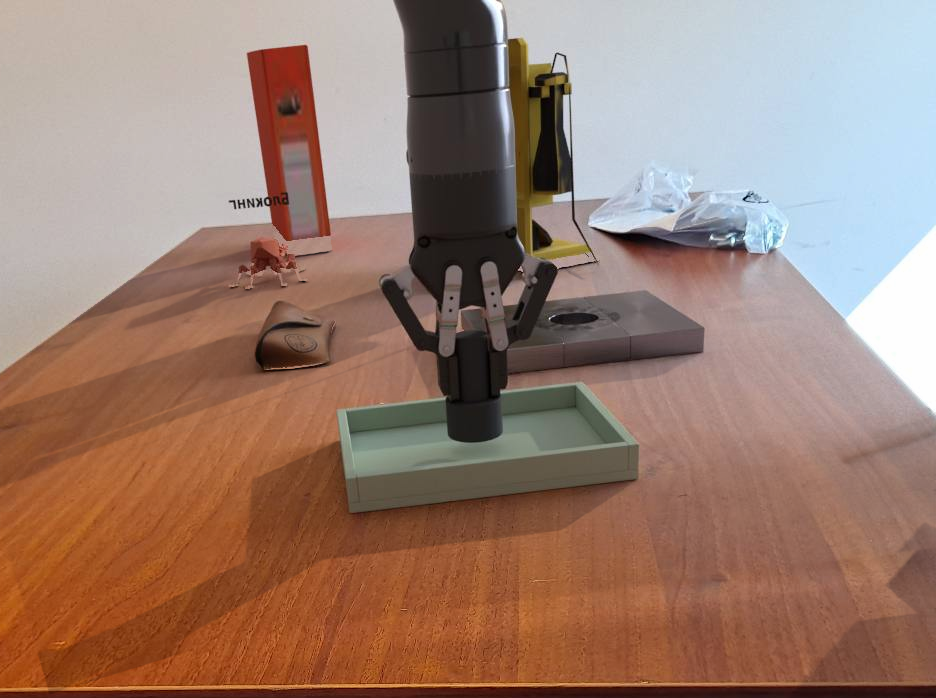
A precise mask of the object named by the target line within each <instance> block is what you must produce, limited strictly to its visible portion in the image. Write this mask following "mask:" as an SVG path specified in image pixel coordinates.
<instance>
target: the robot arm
mask: <svg viewBox="0 0 936 698" xmlns="http://www.w3.org/2000/svg"><path fill="white" fill-rule="evenodd" d="M392 1H393V4H394V7H395V10H396V14H397V15H398V16H397V17H398V19H399V21H400V25H401V29H402V35H403V53H404V54H403V59H404V71H405V72H404V73H405V84H406V85H405V86H406V87H405V88H406V96H407V99H406V103H407V108H406V109H407V111H406V112H407V113H406V146H407V148H406V154H405V155H406V157H405V158H406V163H407V165H408V174H409V175H408V177H409V188H410V201H411V215H412V217H411V218H412V227H413V246H412V249H411V252H410V253H409V257H408V264H406V265H405V266H403V267H401V268H400V269H398V270H396V271H395V272H394V273H392V274H390V273H384V274H382V275H381V276H380V278H379V281H378V284H379V288H380V290H381V292H382V294H383V296H384V297H385V299H386V301H387V302H388V304H389V305H390V307H391V309H392V311H393V312H394V314H395V316H396V317H397V319H398V320H399V322H400V324H401V326H402V327H403V329H404V330H405V333H406V334H407V335H408V337H409V339H410V340H411V342H412V344H413V345H414V347H415V349H416V350H417V351H420V352H425V351H426V352H430V353H433V354H435V360H436V372H437V373H436V374H437V385H438V387H439V390H440V391H441V395H442V396H443V397H447V396H448V399H449V401H450V402H459V401H460V396H459V379H458V362H457V355H456V354H455V353H454V349H455V337H456V333H457V327H458V323H459V313H460V311H461V310H464V309H466V308H469V307H472V306H473V307H477V308H481V311H482V314H483V318H484V323H485V329H486V333H487V341H488V365H489V387H490V398H495V397H500V391H502V390H507V387H508V383H509V379H508V376H509V375H508V374H507V349H508V347H509V346H510V345H511V344H512V343H514V342H516V341H518V340H526V339H528V338H529V337H530V335H531V333H532V331H533V328H534V326H535V324H536V322H537V319H538V317H539V315H540V312H541V310H542V308H543V306H544V303H545V301H547V299H548V296H549V294H550V292H551V289H552V288H553V285H554V283H555V280H556V278H557V275H558V274H559V271H558V270H559V269H557V267H556V266H555V265H554V264H553V263H552V262H551V261H550V260H548V259H546V258H537V257H535V256H532V255H529V254H527V253H525V250H524V247H523V245H522V243H521V242H520V240H519V237H518V233H517V202H516V166H515V131H514V119H513V112H512V106H511V99H510V89H509V88H507V87H508V86H509V61H508V44H507V43H508V39H509V29H508V19H507V12H506V8H505V6H504V3H503V1H502V0H392ZM520 266H521V267H522V269H523V273H521V280H522V282H523V284H525V285H524V288H523V290H522V293H521V294H520V297H519V298H518V299H519V300H518V302H517V306H516V309H515V311H514V313H513V316H512V318H511V320H510V322H508V323H506V324H505V313H504V308H503V306H504V302H503V295H504V293H505V292H506V290H507V289H508V287H509V285H510V284H511V282H512V281H513V279H514V277H515V276H516V274H517V273H518V272H517V271H518V269H519V268H520ZM415 278H416V279H417V280H418V281H419V283H421V285H422V286H423V287H424V289H426V290H427V292H428V293H429V294H430V295H431V297H432V298H433V299H434V300H435V326H434V327H435V328H434V331H430V330H428V329H427V330H426V329H425V328H424V326H423V324H422V322H421V321H420V319H419V318H418V316H417V314H416V312H415V311H414V309H413V307H412V306H411V304H410V302H409V300H410V299H412V297H413V296H414V288H413V284H412V283H413V281H414V280H415Z"/></svg>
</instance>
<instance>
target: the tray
mask: <svg viewBox="0 0 936 698" xmlns="http://www.w3.org/2000/svg"><path fill="white" fill-rule="evenodd" d="M500 394H501V396H502V422H503V433H502V434H501V435H500V436H499V437H497V438H495V439H493V440H490V441H485V442H478V443H465V442H458V441H455V440H452V439H451V438H449V436H448V431H447V416H446V401H445V399H446V397H447V396H443V397H435V398H426V399H418V400H410V401H402V402H392V403H384V404H375V405H374V404H373V405H366V406H364V405H363V406H356V407H348V408H340V409H336V419H337V427H338V428H337V429H338V437H339V444H340V450H341V451H340V452H341V458H342V459H341V460H342V466H343V474H344V483H345V489H346V496H347V497H346V498H347V503H348V512H349V514H357V513H365V512H374V511H380V510H389V509H390V510H391V509H397V508H398V509H399V508H406V507H415V506H422V505H432V504H439V503H440V504H441V503H448V502H449V503H450V502H455V501H465V500H472V499H473V500H475V499H482V498H491V497H497V496H498V497H499V496H507V495H514V494H515V495H516V494H522V493H530V492H531V493H532V492H540V491H541V492H542V491H549V490H557V489H564V488H565V489H566V488H574V487H582V486H590V485H591V486H592V485H599V484H607V483H608V484H609V483H613V482H614V483H615V482H616V483H617V482H623V481H631V480H638V479H639V468H640V467H639V466H640V465H639V464H640V463H639V462H640V460H639V459H640V443H639V442H638V441H637V440H636V439H635V438H634V437H633V436H632V435H631V434H630V432H629V431H628V430H627V429H626V428H625V427H624V426H623V424H622V423H620V422H619V420H618V419H617V418H616V417H615V416H614V414H612V413H611V412H610V411H609V409H608V408H607V407H606V405H604V404H603V403H602V402H601V401H600V400H599V399H598V397H596V395H595V394H594V393H593V392H592V391H591V390H590V389H589V387H588V386H587V385H586V384H585V383H584V382H583V381H574V382H566V383H559V384H550V385H542V386H541V385H540V386H531V387H524V388H523V387H522V388H514V389H503V390H500Z"/></svg>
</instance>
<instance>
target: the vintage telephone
mask: <svg viewBox="0 0 936 698" xmlns="http://www.w3.org/2000/svg"><path fill="white" fill-rule="evenodd" d="M507 44H508V61H509V86H508V87H507V88H509V89H510V99H511V106H512V112H513V119H514V131H515V166H516V202H517V233H518V237H519V240H520V242H521V243H522V245H523V247H524V250H525V253H527V254H529V255H532V256H535V257H537V258H546V259H548V260H551V259H552V260H553V259H556V258H562V257H567V256H573V255H574V256H575V255H580V254H584V253H585V254H586V253H589V252H591V253H592V255H593V257H594V259H595V260H596V258H595V256H594V254H593V252H594V251H593V249H592V248H591V246H590V245H589V242H588V241H587V239H586V237H585V236H584V234H583V232H582V230H581V228H580V225H579V224H578V222H577V220H576V215H575V214H576V212H575V211H576V209H575V184H574V161H573V160H574V157H573V156H574V153H573V129H572V128H573V127H572V103H571V102H572V101H571V100H572V99H571V96H572V94H573V93H572V82H571V78H570V73H569V72H570V71H569V65H568V58H567V54H566V55H565V54H564V53H560V52H558V51H557V52H555V54H554V57H553V61H552V62H549V63H546V62H545V63H529V61H530V60H529V44H528V42H527V41H526V40H525V39H524V37H516V38H508V43H507ZM557 56H561V57H563V59H564V63H565V65H564V66H565V70H566V72H564V71H557V72H554V69H555V65H556V60H557ZM567 95H568V105H569V106H568V107H569V109H568V111H569V145H570V147H569V145H568V142H567V137H566V134H565V128H564V96H567ZM569 148H570V149H569ZM566 193H567V194H568V193H571V220H572V222H573V224H574V225H575V227H576V229H577V231H578V232H579V234H580V237H582V239H583V242H584V243H579V242H574V241H569V240H565V239H559V238H554V237H551V236H550V234H549V232H548V231H547V230H546V229H545V228H543V226H542V225H540V224H539V223H538V222H537V221H536V220H534V219H533V212H532V211H533V209H532V208H537V207H544V206H549V205H553V204H554V196H559V195H563V194H566ZM586 255H587V254H586ZM587 256H588V255H587ZM588 257H589V256H588ZM595 264H598V265H597V266H600V264H599V261H598V262H597V260H596V262H595Z"/></svg>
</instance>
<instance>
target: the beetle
mask: <svg viewBox="0 0 936 698" xmlns="http://www.w3.org/2000/svg"><path fill="white" fill-rule="evenodd" d="M281 195H286V197H283V198H282V200H281V202H282V203H283V204H284V205H289V198H288V192H285V193H281ZM275 198H277V201H278V204H280V205H282V203H281V202H280V199H279V196H274V197H273V202H274V206H276V200H275ZM267 200H268V202H267ZM284 200H286V202H284ZM236 201H237V202H236ZM255 201H256V202H257V203H256V202H255ZM228 203H229V204H231V203H233V209H234V210H237V207H238V210H240V209H241V210H242V207H243V209H251V207H252V208H253V209H255V208H259V207H261V208H262V207H264V206H265V207H269V206H271V205H272V200H271V198H270V197H268V196H265V197H264V198H263V197H259V198H258V197H255V198H254V197H253V198H251V200H250V198H246V199H245V198H242V202H241V199H230V200H228ZM236 203H237V204H236ZM255 203H256V204H255ZM246 205H247V206H246ZM269 208H270V207H269ZM282 246H283V248H282V247H280V246H279V243H278V240H276V239H274V238H269V237H264V236H261V237H259V238H256V239H254V240H252V241H250V263H251V262H252V263H254V265H253V266H251V265H250V267H247V266H246V265H245V264H239V265H238V272H237V274H238V273H242V274H243V273H245V272H247V271H250V270H251V275H253V274H255V273H258V272H260V271H263V270H265V269H266V270H267V267H270V270H271V269H272V270H273V271H275V272H277V273H281V274H282V270H281V269H280V268H286V269H291V268H292V270H293V269H297V267H296V263H297V261H296V262H295V261H294V260H296V257H294V254H288V255H287V257H286V259H284V257H285V255H286V252H287V250H288V249H287V248H288V246H285V244H282ZM292 260H293V261H292ZM285 261H286V262H289V263H288V265H287V266H286V264H285V263H286V262H285ZM272 270H271V271H272Z"/></svg>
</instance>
